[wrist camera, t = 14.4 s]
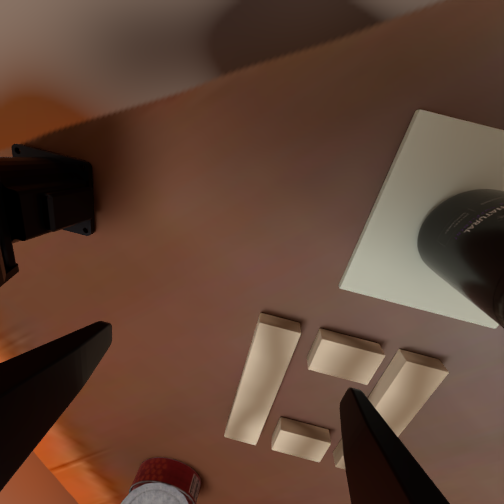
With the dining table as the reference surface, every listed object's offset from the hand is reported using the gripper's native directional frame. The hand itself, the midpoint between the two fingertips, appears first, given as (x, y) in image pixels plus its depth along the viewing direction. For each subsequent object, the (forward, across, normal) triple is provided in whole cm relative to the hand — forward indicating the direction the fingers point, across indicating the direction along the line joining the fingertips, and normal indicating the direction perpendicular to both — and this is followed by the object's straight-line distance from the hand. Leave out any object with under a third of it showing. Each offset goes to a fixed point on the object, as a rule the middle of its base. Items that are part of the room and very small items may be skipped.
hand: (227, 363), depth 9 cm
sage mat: (+13, -15, -5) cm, 20 cm away
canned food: (+13, +4, +41) cm, 43 cm away
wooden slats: (+13, -11, +16) cm, 23 cm away
